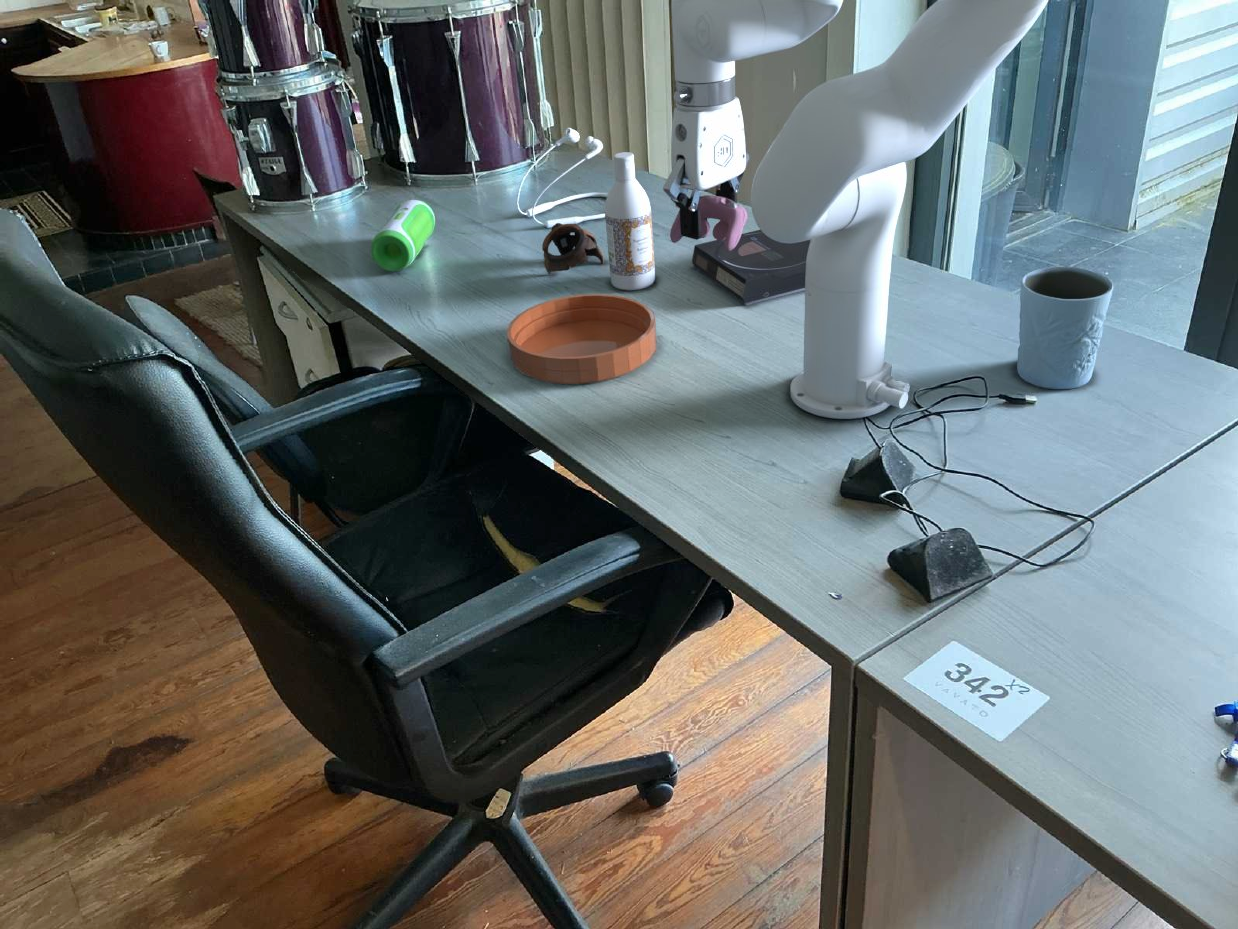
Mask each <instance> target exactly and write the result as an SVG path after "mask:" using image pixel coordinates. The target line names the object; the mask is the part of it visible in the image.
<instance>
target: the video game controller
mask: <svg viewBox="0 0 1238 929" xmlns="http://www.w3.org/2000/svg"><path fill="white" fill-rule="evenodd" d="M688 198H689V199H690V197H688ZM697 209H699V210H700V211H701V235H702V236H701V238H700V239H705V238H707V237H708V236H709V235H710V233H711V226H710V223H709V221H708V219H714V220H717V221H718V222H717V223H716V224H715V225H714V226H713V228H712V236H713V238H714V240H719V241H725V247H726V250H728V251H731V250H732V249H734V248H735V246H736V245H737V243H738V242H739V239H740V237H741V234H743V230H744V227H745V225H746V224H747V221H748V212H747V210H746V209H745V208H744V206H742V205H740V204H738V202H737V203H735V202H734V201H732V200H730V199H727V198H724V197H719V196H716V195H708V194H707V195H700V198H699V202H698V206H697ZM683 237H684V236H682V235H681V229H680V209H679V211H678V212H677V215H676V216H675V219H674V221H673V222H672V225H671V228H670V233H669V238H670V241H671V243H673V244H676V243H678V242H679V241H680V240H681V239H682V238H683Z"/></svg>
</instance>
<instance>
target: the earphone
mask: <svg viewBox="0 0 1238 929" xmlns="http://www.w3.org/2000/svg"><path fill="white" fill-rule="evenodd" d="M579 141H580V134H579V132H578V131H577V130H575V129H572V128H571V127H567V128H566V129H565V130H564V136H563V137H561V138H559V139H558V140H557V141H555V142H554V145H552V146H551V147H550V148H549V149H548V150H546V151H545V152H544V153H543V154H542V155H540V156H539V158H537V160H536V161H534V162H533V164H532V165H531V166H530V167H529V168H528V170H527V171H526V172H525V174H524V176H523V177H522V179H521V181H520V184H519V187H518V191H517V197H516V208H517V211H518V212H519V213H520V214H521V215H525V216H526V217H528V218H530V217H532V219H533V220H534V221H535V222H536V223H537V224H539V225H542V226H545V227H546V228H547V229H552V227H553V226H554V225H555V224H556V223H561V224H563V225H564V224H573V225H574V224H575V225H577V224H579V223H582V222H586V221H593V220H600V219H603V218H604V219H605V212H604V213H600V214H599V213H598V214H594V215H586V216H569V217H563V218H555V219H549V220H546V221H545V223H544V222H541V221H539V220H538V219H536V217H535V215H538V214H540V213H543V212H546V211H548V210H551V209H552V208H553V207H555V206H558V205H561V204H563V203H567V202H569V201H572V200H573V201H574V200H578V199H584V198H592V197H594V198H595V197H599V198H600V197H601V198H607V196H608V193H607V192H586V193H579V194H574V195H571V196H566V197H563V198H561V199H558V200H555V201H547V202H544V203H541V204H538V205H537V203H538V201H539V199H540V198H541V197H542V195H543V194H544V193H545V191H546V190H548V188H550V187H551V186H552V185H553V184H554V183H556V181H558V180H559V179H560V178H562V177H563V176H565V175H566V174H567V173H569V172H570V171H571V170H573V169H574V168H575V167H577V166H578V165H580V164H581V163H584V161H586V160H587V161H588V160H589V159H592V158H593V157H595V156H597V155H598V154H599V153H600V152H601V151H603V148H604V145H603V143H602V141H601V140H599V139H598V138H594V137H593V136H591V135H588V136H587V137H586V139H585V141H584V144H585V146H586V147H589V150H590V151H589V152H588V153H587V154H585V155H584V158H582V159H581V160H579V161H578V162H576V163H575V164H573V165H572V166H570V167H569V168H568V169H567V170H565V171H564V172H563V173H561V174H560V175H559V176H558V177H556V178H555V179H553V180H552V181H551V182H549V184H548V185H547V186H546V187H544V188H543V190H541V192H540V193H539V194H538V196H537V197H536V199H535V201H534V203H533V205H532V207H530V208H528V209H526V210H525V212H523V211H521V209H520V206H519V199H520V195H521V194H520V193H521V191H522V190H521V189H522V186H523V183H524V181H525V179H526V177H527V176H528V174H529V173H530V172H531V171H532V169H533V168H534V167H535V166H536V164H537V163H539V161H540V160H541V159H543V158H544V157H545V156H546V155H548V153H550V151H552V150H553V149H554V148H556V147H559V146H561V145H562V144H564V143H565V142H570V143H573V144H575V143H578V142H579Z"/></svg>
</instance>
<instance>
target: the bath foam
mask: <svg viewBox="0 0 1238 929" xmlns="http://www.w3.org/2000/svg"><path fill="white" fill-rule="evenodd" d="M613 165H614V174H615V175H614V177H615V180H614V182H613V184H612V185H611V187H610V189H609V192H608V193H607V194H608V196H607V197H606V199H605V204H604V213H605V217H604V221H605V232H606V242H607V253H608V254H607V255H608V265H609V275H610V276H609V277H610V283H611V285H612V286H613V287H614V288H616V289H618V290H622V291H637V290H642V289H646V288H648V287H650V286H652V285H653V284H654V282H655V281H656V269H655V254H654V253H655V252H654V251H655V250H654V236H653V234H654V233H653V220H652V208H651V202H650V199H649V197H648V195H647V194H648V193H646V191H645V189H644V188H643V187H642V185H641V184H640V182H639V181H638V180H637V179H636V170H635V155H634V154H633V152H628V151H623V152H618V153H615V154H614V155H613Z"/></svg>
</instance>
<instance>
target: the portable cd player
mask: <svg viewBox="0 0 1238 929" xmlns="http://www.w3.org/2000/svg"><path fill="white" fill-rule="evenodd" d="M810 242H811V239H810V240H806V241H803V242H798V243H781V242H778V241H775V240H773V239H771V238H769V237H768V236H766V235H765V234H764V233H763V232H762V231H761V230H760V229H757V230H752V231H748V232H744V233H742V234H741V237H740V239H739V242H738V243H737V245H736V246H735V248H734V249H732V250H731V251H728V250H726V247H725V241H719V240H717V239H714V240H710V241H706V242H702V243H698V244H694V247H693V254H692V259H691V263H692V265H693V267H694V269H695V270H696V271H697V272H699V273H700V274H702V275H703V276H704V277H706V278H708V279H709V280H710V281H712V282H713V283H715V285H717V286H718V287H720V288H721V289H723V290H724V291H726V292H727V293H729V294H730V295H731V296H733V297H734V298H736V300H738V301H740V302H741V303H743V304H744V305H745V306H749V305H753V304H758V303H761V302H764V301H768V300H772V299H773V300H774V299H776V298H781V297H784V296H788V295H792V294H795V293H796V294H797V293H799V292H803V291H804V292H805V276H806V259H807V253H808V249H809V245H810Z"/></svg>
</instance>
